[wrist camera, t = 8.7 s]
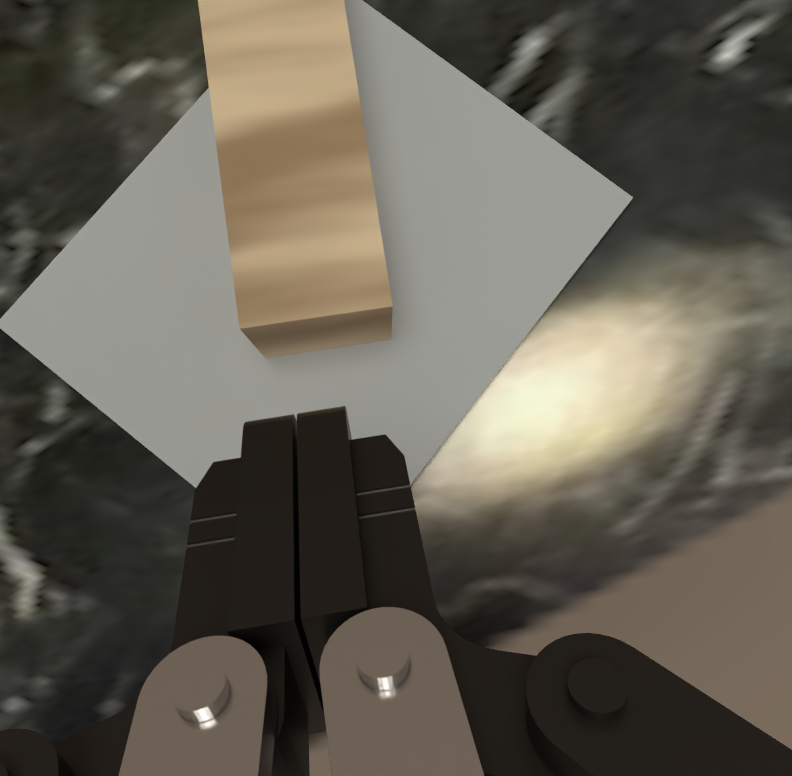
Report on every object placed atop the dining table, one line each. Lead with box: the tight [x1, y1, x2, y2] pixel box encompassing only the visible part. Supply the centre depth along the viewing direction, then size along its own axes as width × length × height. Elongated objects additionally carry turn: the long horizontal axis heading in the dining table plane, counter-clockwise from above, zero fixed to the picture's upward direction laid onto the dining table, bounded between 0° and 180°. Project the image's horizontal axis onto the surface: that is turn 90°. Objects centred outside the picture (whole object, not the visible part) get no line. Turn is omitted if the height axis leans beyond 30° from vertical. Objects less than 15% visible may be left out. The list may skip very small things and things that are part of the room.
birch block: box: [198, 0, 393, 358], centre depth 24 cm, size 4×4×14 cm
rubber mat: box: [0, 0, 633, 488], centre depth 26 cm, size 18×15×1 cm
